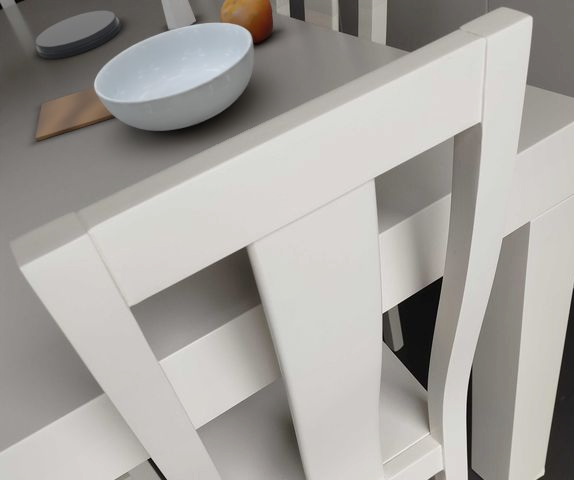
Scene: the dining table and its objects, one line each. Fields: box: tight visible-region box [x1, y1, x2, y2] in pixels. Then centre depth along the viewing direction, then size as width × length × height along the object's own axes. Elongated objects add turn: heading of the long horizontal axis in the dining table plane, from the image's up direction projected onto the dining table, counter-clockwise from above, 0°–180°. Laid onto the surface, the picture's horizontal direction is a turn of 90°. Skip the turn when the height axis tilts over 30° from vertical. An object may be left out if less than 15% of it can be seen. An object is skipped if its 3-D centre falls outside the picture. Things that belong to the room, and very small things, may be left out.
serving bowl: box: [93, 22, 255, 132], centre depth 77 cm, size 21×21×7 cm
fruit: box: [219, 0, 274, 44], centre depth 90 cm, size 8×8×8 cm
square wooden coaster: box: [34, 87, 116, 142], centre depth 87 cm, size 12×12×1 cm
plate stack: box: [35, 10, 122, 60], centre depth 109 cm, size 16×16×2 cm
